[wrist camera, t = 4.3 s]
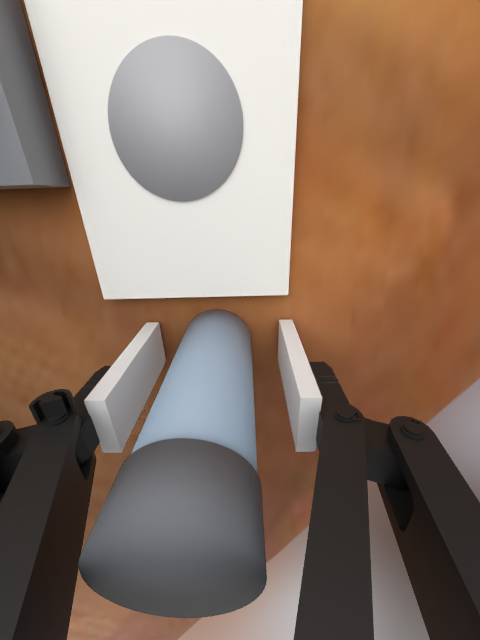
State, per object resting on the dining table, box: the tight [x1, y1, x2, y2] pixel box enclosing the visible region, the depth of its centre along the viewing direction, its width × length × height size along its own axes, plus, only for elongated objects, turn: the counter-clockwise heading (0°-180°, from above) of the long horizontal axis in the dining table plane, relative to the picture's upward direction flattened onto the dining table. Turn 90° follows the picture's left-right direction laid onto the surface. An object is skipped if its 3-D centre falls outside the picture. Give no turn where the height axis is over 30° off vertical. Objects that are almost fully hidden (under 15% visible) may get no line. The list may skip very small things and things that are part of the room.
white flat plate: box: [24, 0, 303, 299], centre depth 12 cm, size 10×12×1 cm
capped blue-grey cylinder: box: [78, 309, 267, 618], centre depth 11 cm, size 4×4×11 cm
